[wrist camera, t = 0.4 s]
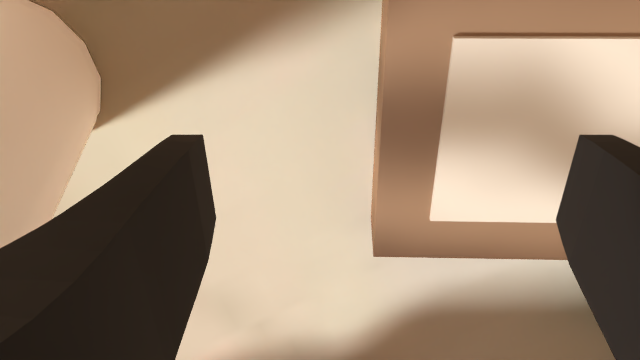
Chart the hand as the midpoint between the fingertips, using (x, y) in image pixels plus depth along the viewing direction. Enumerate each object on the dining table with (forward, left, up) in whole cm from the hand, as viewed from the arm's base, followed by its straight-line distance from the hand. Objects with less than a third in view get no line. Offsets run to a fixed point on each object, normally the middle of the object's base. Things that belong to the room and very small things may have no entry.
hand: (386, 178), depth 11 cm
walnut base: (-3, -6, -10) cm, 12 cm away
